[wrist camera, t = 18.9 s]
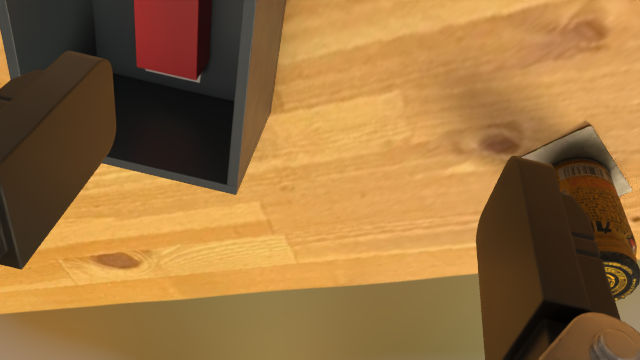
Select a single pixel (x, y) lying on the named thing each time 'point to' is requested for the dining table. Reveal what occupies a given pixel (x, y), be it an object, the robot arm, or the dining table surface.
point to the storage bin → (164, 83)
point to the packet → (173, 37)
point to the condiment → (597, 201)
